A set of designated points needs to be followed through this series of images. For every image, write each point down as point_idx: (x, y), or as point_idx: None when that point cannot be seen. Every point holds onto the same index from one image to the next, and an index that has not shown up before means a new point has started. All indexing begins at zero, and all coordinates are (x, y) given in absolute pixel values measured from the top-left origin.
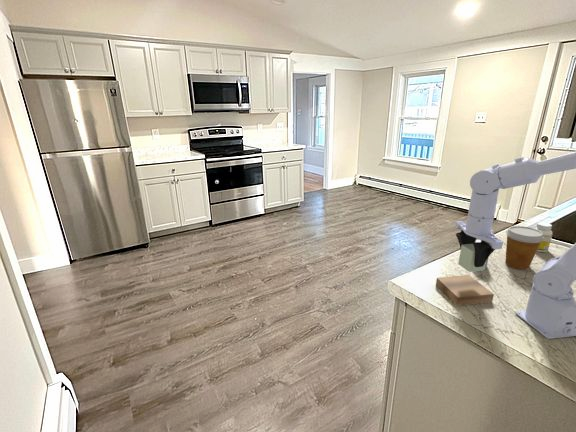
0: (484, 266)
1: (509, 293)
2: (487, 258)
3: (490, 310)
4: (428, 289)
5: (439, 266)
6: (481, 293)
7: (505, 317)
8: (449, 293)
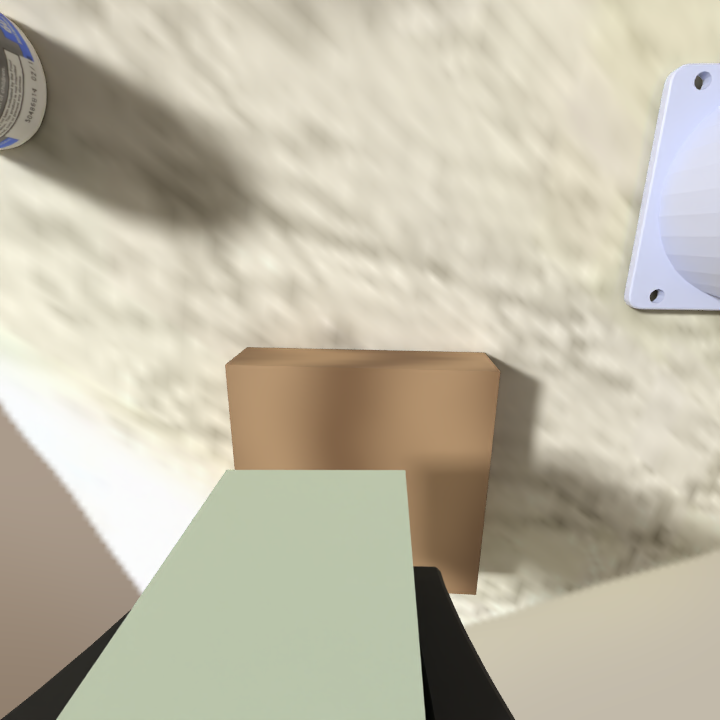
0: (406, 510)
1: (421, 153)
2: (487, 672)
3: (551, 418)
4: None
5: (34, 398)
6: (471, 444)
7: (631, 384)
8: None
